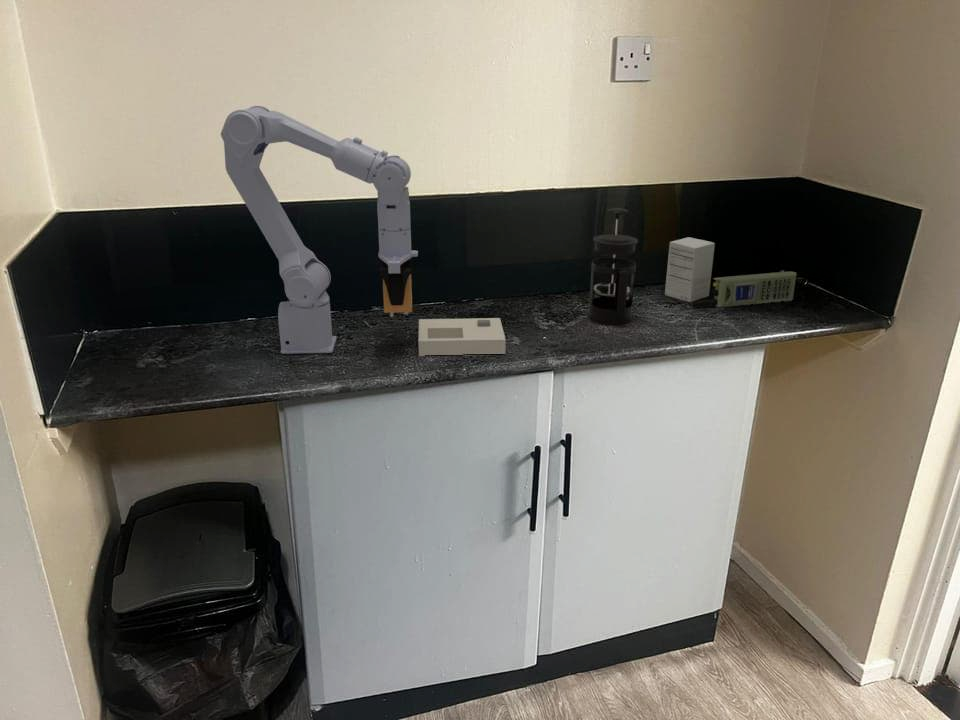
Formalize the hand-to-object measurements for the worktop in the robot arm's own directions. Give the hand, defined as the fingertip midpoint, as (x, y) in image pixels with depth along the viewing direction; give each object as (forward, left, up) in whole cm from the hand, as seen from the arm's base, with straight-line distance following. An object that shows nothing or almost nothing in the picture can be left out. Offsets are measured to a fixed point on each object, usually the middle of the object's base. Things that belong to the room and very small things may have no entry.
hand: (397, 300), depth 142 cm
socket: (+12, +2, -10) cm, 15 cm away
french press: (+44, +15, -10) cm, 47 cm away
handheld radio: (+75, +24, -10) cm, 80 cm away
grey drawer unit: (+65, +30, -10) cm, 72 cm away
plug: (0, 0, -3) cm, 3 cm away
